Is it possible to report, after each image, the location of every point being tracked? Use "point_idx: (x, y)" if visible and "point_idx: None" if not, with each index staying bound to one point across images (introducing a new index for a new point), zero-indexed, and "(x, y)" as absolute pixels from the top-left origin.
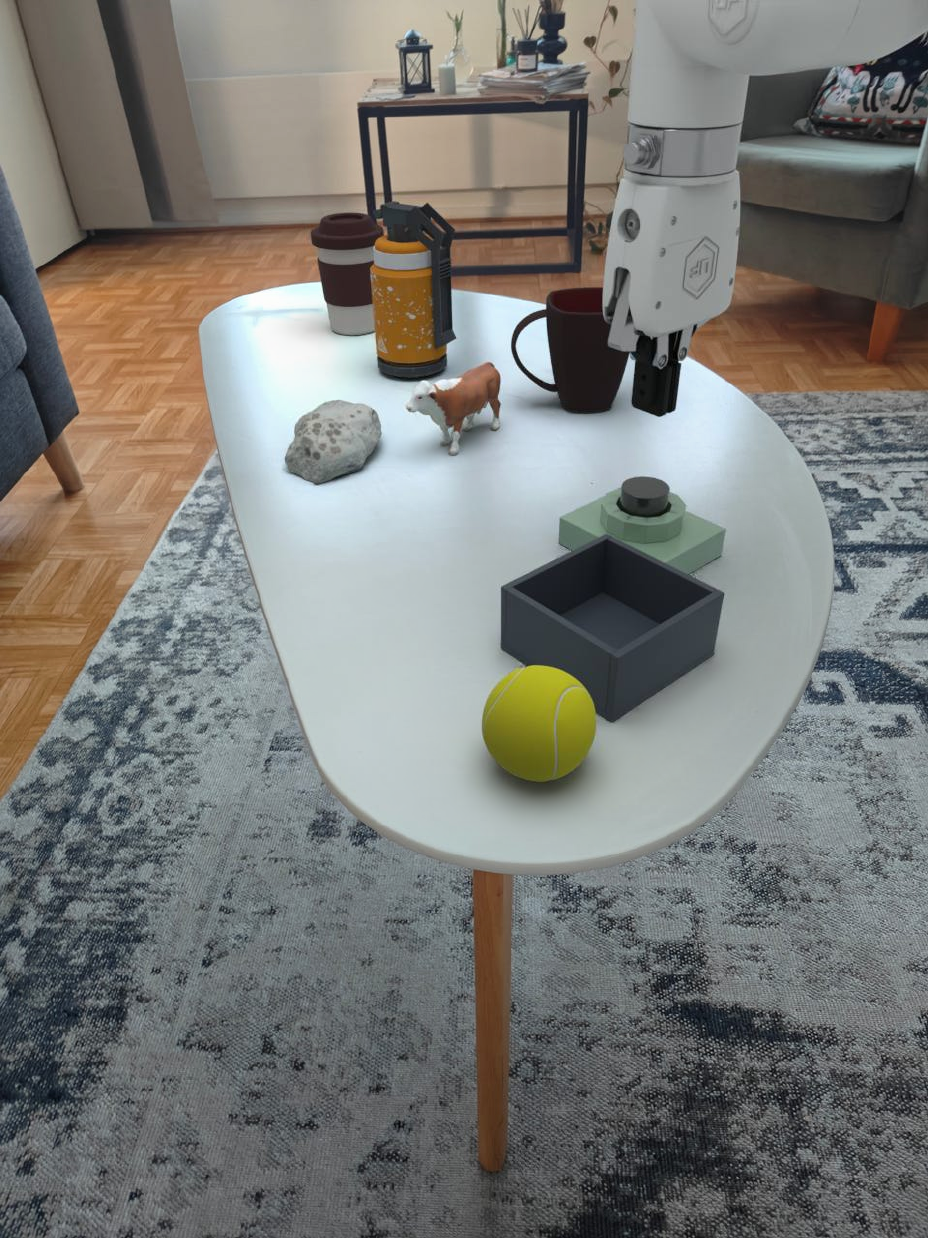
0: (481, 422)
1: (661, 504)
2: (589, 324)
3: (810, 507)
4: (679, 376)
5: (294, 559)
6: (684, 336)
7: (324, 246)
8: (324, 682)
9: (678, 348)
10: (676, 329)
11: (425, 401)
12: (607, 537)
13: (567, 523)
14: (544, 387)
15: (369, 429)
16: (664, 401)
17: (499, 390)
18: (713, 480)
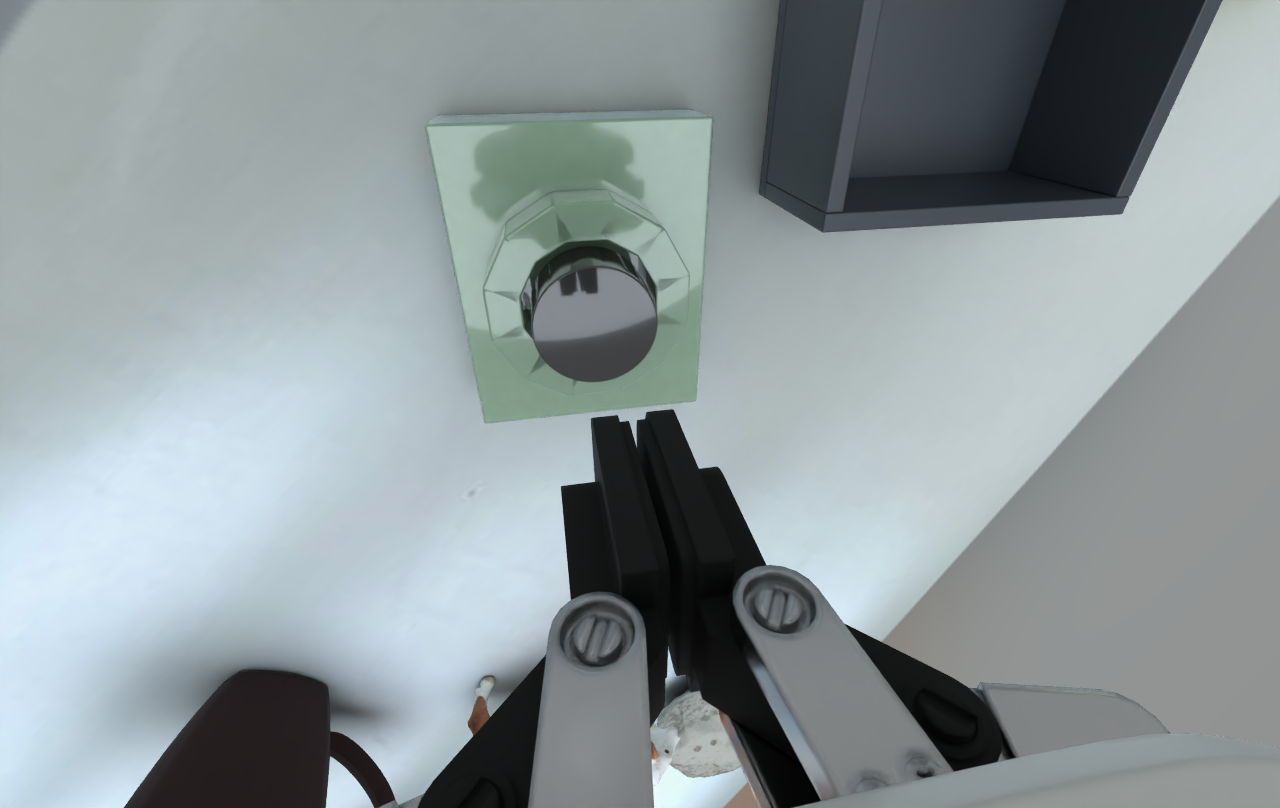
0: (491, 698)
1: (597, 257)
2: None
3: None
4: (611, 519)
5: (950, 523)
6: (617, 741)
7: None
8: (1171, 284)
9: (645, 664)
10: (1048, 784)
11: (658, 742)
12: (836, 216)
13: (697, 378)
14: (355, 745)
15: (696, 715)
16: (686, 442)
17: None
18: (200, 379)
